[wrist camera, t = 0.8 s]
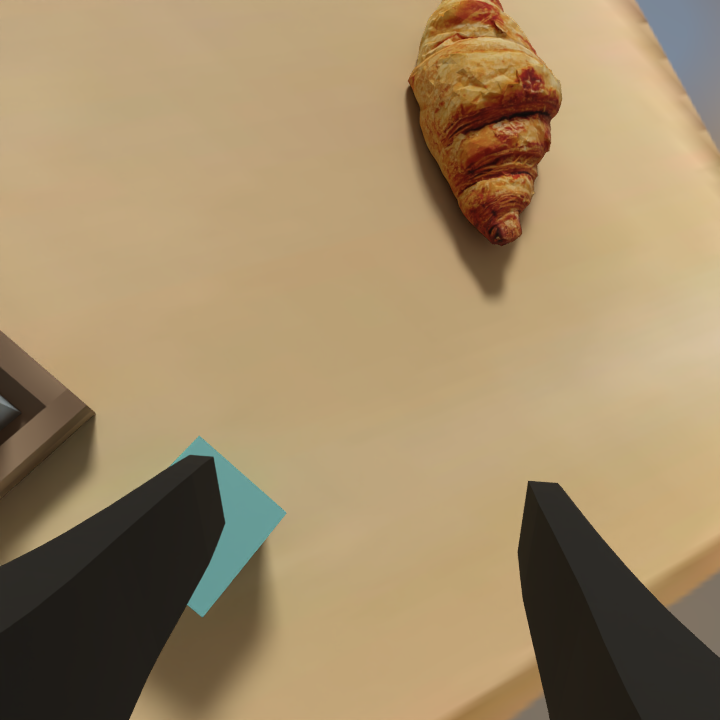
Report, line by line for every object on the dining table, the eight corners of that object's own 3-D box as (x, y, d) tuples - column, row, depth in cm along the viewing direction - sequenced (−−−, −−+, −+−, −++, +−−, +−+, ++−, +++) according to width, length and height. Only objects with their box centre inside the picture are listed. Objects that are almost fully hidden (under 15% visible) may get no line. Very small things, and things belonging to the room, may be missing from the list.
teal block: (196, 587, 22) (202, 617, 17) (119, 523, 22) (103, 534, 17) (263, 506, 24) (286, 512, 19) (194, 445, 24) (199, 435, 19)
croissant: (398, 32, 39) (391, -76, 32) (526, 8, 38) (551, -109, 31) (429, 276, 34) (429, 218, 27) (577, 256, 33) (623, 190, 26)
